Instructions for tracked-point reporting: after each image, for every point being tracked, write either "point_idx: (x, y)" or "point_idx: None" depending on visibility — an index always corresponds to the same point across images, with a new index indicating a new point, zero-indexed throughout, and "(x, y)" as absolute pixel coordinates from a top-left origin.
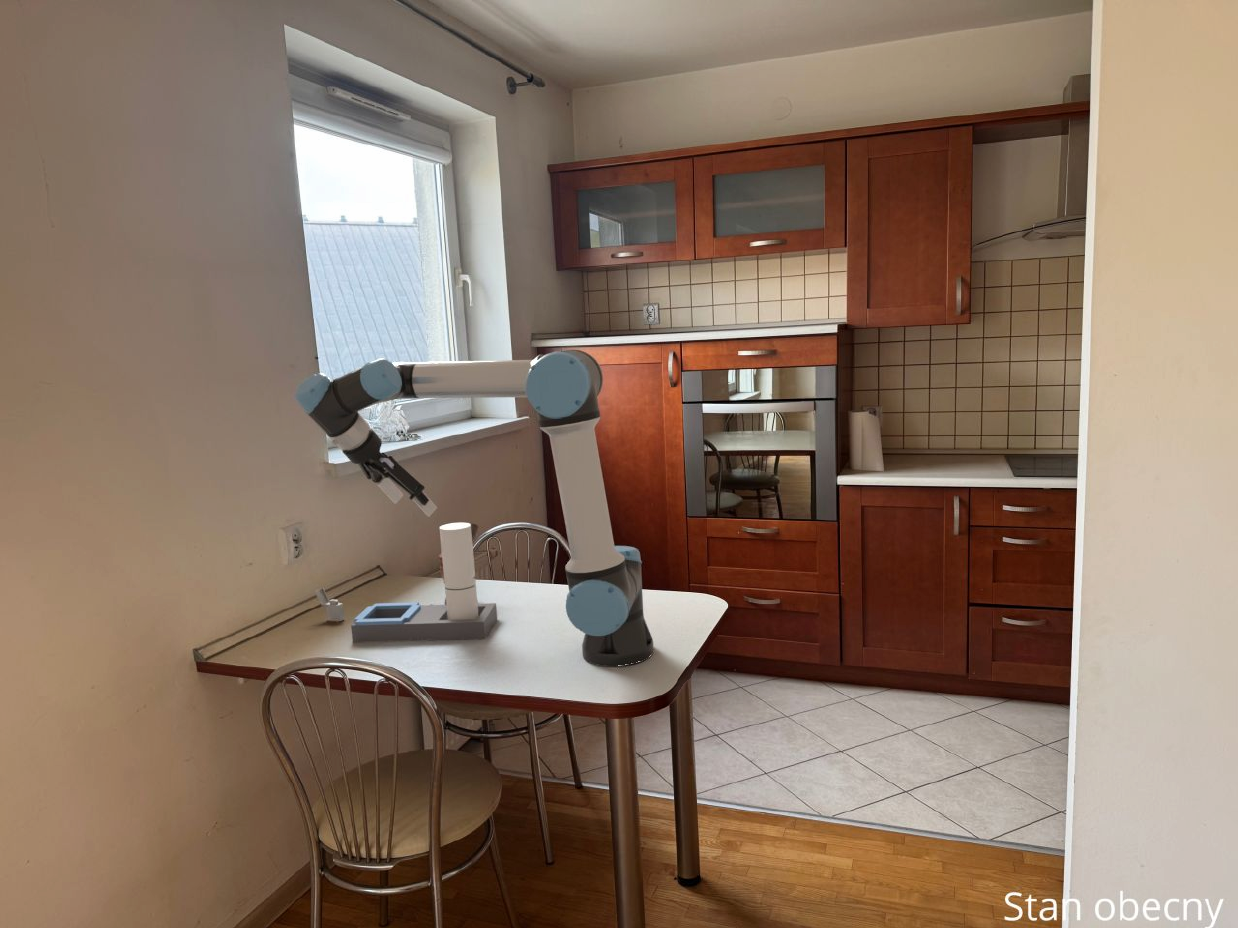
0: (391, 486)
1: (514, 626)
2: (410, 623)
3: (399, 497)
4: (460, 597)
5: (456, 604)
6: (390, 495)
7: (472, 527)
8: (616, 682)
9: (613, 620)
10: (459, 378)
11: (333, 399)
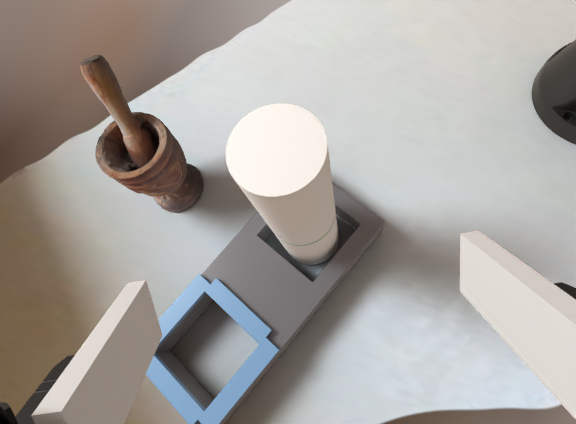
0: (113, 361)
1: (360, 167)
2: (289, 334)
3: (150, 309)
4: (332, 231)
5: (327, 243)
6: (141, 369)
7: (102, 69)
8: None
9: None
10: None
11: None
